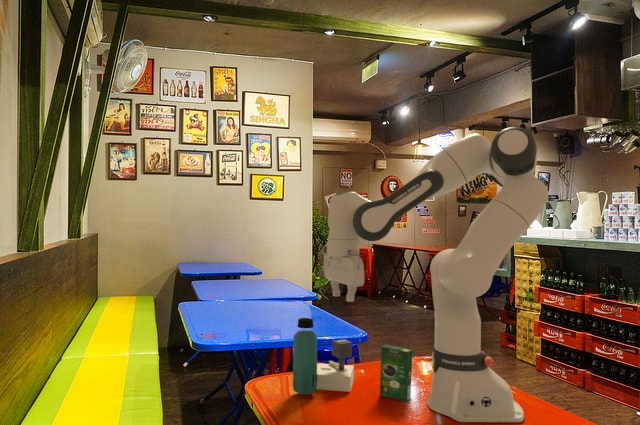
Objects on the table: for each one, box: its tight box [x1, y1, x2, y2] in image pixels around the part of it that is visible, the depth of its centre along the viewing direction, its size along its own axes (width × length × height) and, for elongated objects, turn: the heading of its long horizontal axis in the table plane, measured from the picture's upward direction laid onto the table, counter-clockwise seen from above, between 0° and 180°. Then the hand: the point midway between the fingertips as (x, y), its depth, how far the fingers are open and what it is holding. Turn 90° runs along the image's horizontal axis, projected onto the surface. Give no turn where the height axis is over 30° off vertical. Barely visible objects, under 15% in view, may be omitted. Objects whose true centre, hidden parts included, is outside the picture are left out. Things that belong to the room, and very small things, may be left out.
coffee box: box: [379, 344, 413, 403], centre depth 124 cm, size 8×3×13 cm, turn 57°
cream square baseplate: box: [316, 362, 355, 393], centre depth 134 cm, size 12×11×4 cm
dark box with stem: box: [328, 338, 353, 370], centre depth 135 cm, size 8×4×8 cm, turn 32°
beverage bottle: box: [292, 317, 318, 395], centre depth 124 cm, size 6×7×20 cm
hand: (343, 298), depth 133 cm, fingers open, 8 cm apart
